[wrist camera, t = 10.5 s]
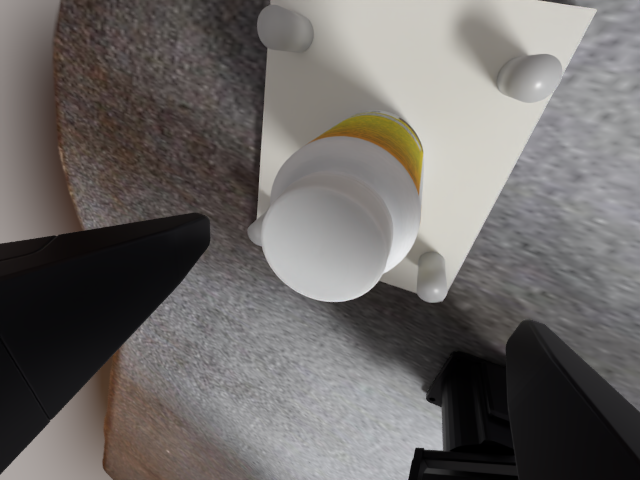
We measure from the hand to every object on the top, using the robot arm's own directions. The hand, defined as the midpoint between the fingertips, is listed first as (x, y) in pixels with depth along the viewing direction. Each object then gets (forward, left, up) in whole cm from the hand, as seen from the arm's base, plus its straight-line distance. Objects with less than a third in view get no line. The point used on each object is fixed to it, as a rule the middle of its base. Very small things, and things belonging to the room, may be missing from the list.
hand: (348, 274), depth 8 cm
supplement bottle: (0, +1, -11) cm, 11 cm away
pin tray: (0, +1, -12) cm, 12 cm away
